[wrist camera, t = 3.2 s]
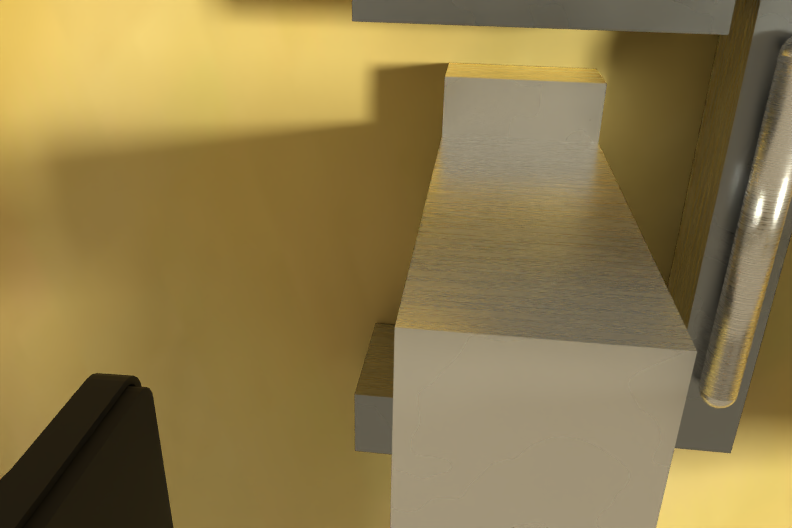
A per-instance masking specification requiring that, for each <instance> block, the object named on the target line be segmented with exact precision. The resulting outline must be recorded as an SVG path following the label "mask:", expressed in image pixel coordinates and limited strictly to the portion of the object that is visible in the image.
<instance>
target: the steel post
mask: <svg viewBox="0 0 792 528" xmlns="http://www.w3.org/2000/svg"><path fill="white" fill-rule="evenodd" d="M606 86H607V83H606V82H605V80H604V79H603V77H602V76H601V75H600V73H599V72H598V70H597V69H587V68H563V67H539V66H515V65H491V64H467V63H449V66H448V69H447V72H446V75H445V86H444V107H443V128H442V137H441V141H440V146H439V150H438V154H437V158H436V162H435V166H434V170H433V174H432V178H431V182H430V186H429V190H428V194H427V198H426V202H425V206H424V210H423V214H422V218H421V223H420V227H419V231H418V235H417V239H416V243H415V247H414V251H413V255H412V259H411V263H410V267H409V271H408V275H407V279H406V283H405V287H404V291H403V295H402V299H401V304H400V308H399V312H398V316H397V320H396V324H395V334H394V381H393V427H392V474H391V521H390V528H656V525H657V521H658V516H659V512H660V508H661V504H662V499H663V495H664V491H665V487H666V482H667V478H668V474H669V469H670V465H671V461H672V457H673V452H674V448H675V444H676V440H677V435H678V431H679V427H680V422H681V418H682V414H683V410H684V405H685V401H686V397H687V393H688V388H689V384H690V380H691V376H692V371H693V367H694V363H695V358H696V354H697V350H696V348H695V346H694V344H693V342H692V339H691V337H690V335H689V333H688V331H687V329H686V327H685V325H684V323H683V320H682V318H681V316H680V314H679V312H678V310H677V308H676V306H675V304H674V301H673V299H672V297H671V295H670V293H669V291H668V289H667V287H666V285H665V282H664V280H663V278H662V276H661V274H660V272H659V270H658V268H657V266H656V263H655V261H654V259H653V257H652V255H651V253H650V251H649V249H648V247H647V244H646V242H645V240H644V238H643V236H642V234H641V232H640V230H639V228H638V225H637V223H636V221H635V219H634V217H633V215H632V213H631V211H630V209H629V206H628V204H627V202H626V200H625V198H624V196H623V194H622V192H621V190H620V187H619V185H618V183H617V181H616V179H615V177H614V175H613V173H612V171H611V168H610V166H609V164H608V162H607V160H606V158H605V156H604V154H603V152H602V149H601V147H600V145H599V143H598V142H599V135H600V128H601V121H602V114H603V107H604V100H605V93H606Z"/></svg>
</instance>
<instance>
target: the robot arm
mask: <svg viewBox="0 0 792 528" xmlns="http://www.w3.org/2000/svg"><path fill="white" fill-rule="evenodd" d="M0 528H173V523H172V516H171V510H170V503H169V497H168V490H167V484H166V477H165V471H164V465H163V458H162V452H161V445H160V439H159V432H158V426H157V419H156V413H155V406H154V400H153V395H152V392H151V390H150V389H149V388H147V387H142V386H141V383H140V381H139V379H138V378H137V377H135V376H128V375H115V374H101V373H96V374H92V375H91V376H90V377H89V378H87V380H86V381H85V382H84V383H83V384H82V385H81V387H80V388H79V389H78V390H77V391H76V393H75V394H74V395H73V396H72V397H71V399H70V400H69V401H68V402H67V403H66V404H65V406H64V407H63V408H62V409H61V410H60V412H59V413H58V414H57V415H56V416H55V418H54V419H53V420H52V421H51V422H50V424H49V425H48V426H47V427H46V428H45V429H44V431H43V432H42V433H41V434H40V435H39V437H38V438H37V439H36V440H35V441H34V443H33V444H32V445H31V446H30V447H29V448H28V450H27V451H26V452H25V453H24V454H23V456H22V457H21V458H20V459H19V460H18V462H17V463H16V464H15V465H14V466H13V468H12V469H11V470H10V471H9V472H8V473H7V474H5V475H4V476H3V477H2V478H1V480H0Z"/></svg>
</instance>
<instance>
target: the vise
mask: <svg viewBox="0 0 792 528" xmlns="http://www.w3.org/2000/svg"><path fill="white" fill-rule="evenodd" d="M352 21H358V22H386V23H413V24H441V25H469V26H497V27H525V28H553V29H581V30H609V31H636V32H664V33H692V34H719V38H718V43H717V48H716V53H715V58H714V63H713V68H712V73H711V78H710V82H709V87H708V92H707V97H706V102H705V107H704V112H703V117H702V122H701V127H700V131H699V136H698V141H697V146H696V151H695V156H694V161H693V166H692V171H691V176H690V180H689V185H688V190H687V195H686V200H685V205H684V210H683V215H682V220H681V224H680V229H679V234H678V239H677V244H676V249H675V254H674V259H673V264H672V269H671V273H670V278H669V283H668V288H667V289H668V291H669V293H670V295H671V297H672V299H673V301H674V304H675V306H676V308H677V310H678V312H679V314H680V316H681V318H682V320H683V323H684V325H685V327H686V329H687V331H688V333H689V335H690V337H691V339H692V342H693V344H694V346H695V348H696V350H697V354H696V358H695V363H694V367H693V371H692V376H691V380H690V384H689V388H688V393H687V397H686V401H685V405H684V410H683V414H682V418H681V422H680V427H679V431H678V435H677V440H676V444H675V448H680V449H691V450H702V451H713V452H723V453H731V450H732V446H733V443H734V439H735V436H736V432H737V428H738V425H739V421H740V418H741V414H742V410H743V407H744V403H745V400H746V396H747V392H748V389H749V385H750V381H751V378H752V374H753V371H754V367H755V363H756V360H757V356H758V353H759V349H760V345H761V342H762V338H763V335H764V331H765V327H766V324H767V320H768V317H769V313H770V309H771V306H772V302H773V299H774V295H775V291H776V288H777V284H778V281H779V277H780V273H781V270H782V266H783V263H784V259H785V255H786V252H787V248H788V245H789V241H790V237H791V234H792V0H352ZM394 334H395V325H390V324H377V323H376V324H375V327H374V331H373V334H372V338H371V341H370V344H369V348H368V351H367V355H366V358H365V361H364V365H363V368H362V371H361V375H360V378H359V382H358V385H357V388H356V392H355V451H363V452H373V453H383V454H392V427H393V381H394Z"/></svg>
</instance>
